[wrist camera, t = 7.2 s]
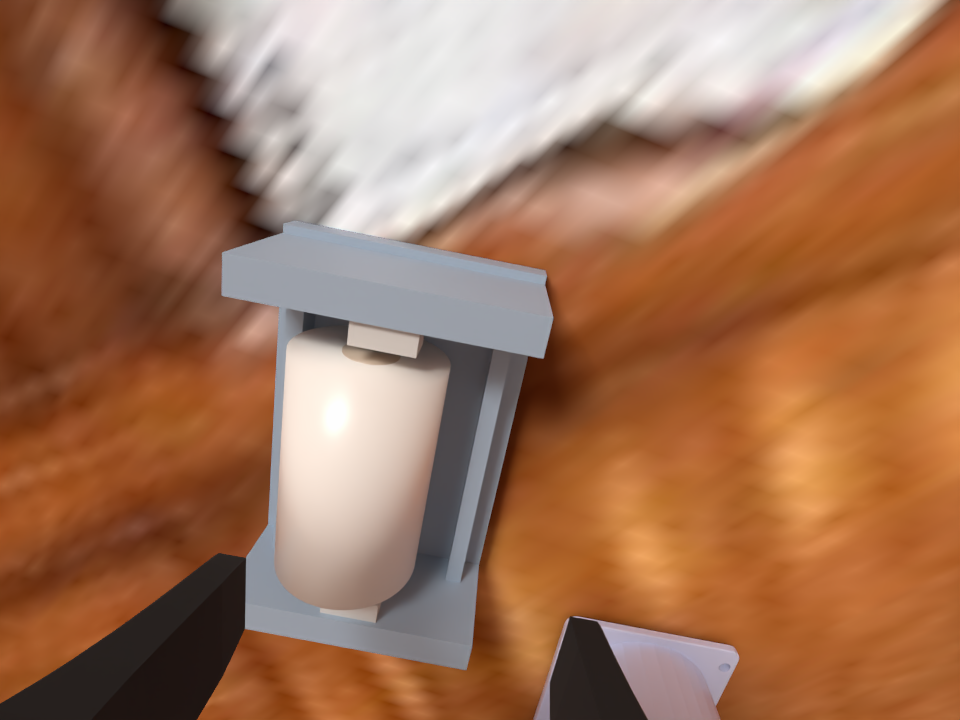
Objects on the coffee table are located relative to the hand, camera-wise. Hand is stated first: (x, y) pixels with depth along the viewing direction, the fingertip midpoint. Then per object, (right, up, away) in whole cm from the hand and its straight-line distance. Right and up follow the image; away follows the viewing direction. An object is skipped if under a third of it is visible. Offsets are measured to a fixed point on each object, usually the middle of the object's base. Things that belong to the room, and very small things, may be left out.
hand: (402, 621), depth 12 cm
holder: (-2, +3, +10) cm, 10 cm away
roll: (-2, +3, +9) cm, 9 cm away
